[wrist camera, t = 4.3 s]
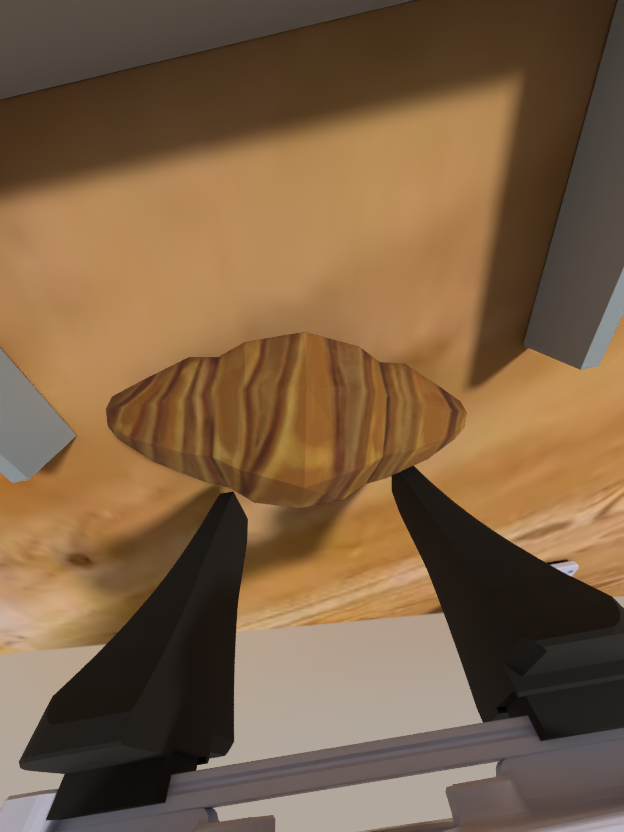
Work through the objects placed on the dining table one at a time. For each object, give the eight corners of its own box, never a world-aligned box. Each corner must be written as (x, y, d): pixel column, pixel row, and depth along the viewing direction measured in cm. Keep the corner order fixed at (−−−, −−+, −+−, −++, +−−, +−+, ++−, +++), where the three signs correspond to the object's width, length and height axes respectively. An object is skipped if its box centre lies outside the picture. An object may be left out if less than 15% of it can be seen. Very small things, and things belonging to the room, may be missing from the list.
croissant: (473, 323, 10) (604, 378, 6) (422, 455, 14) (482, 546, 10) (97, 305, 9) (-73, 360, 5) (151, 458, 12) (83, 566, 8)
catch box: (537, 342, 11) (598, 365, 9) (63, 438, 11) (12, 483, 9) (676, -112, 5) (922, -337, 3) (-236, 111, 6) (-521, 38, 4)
